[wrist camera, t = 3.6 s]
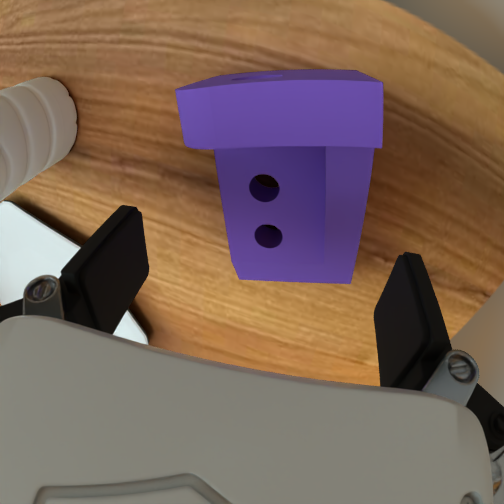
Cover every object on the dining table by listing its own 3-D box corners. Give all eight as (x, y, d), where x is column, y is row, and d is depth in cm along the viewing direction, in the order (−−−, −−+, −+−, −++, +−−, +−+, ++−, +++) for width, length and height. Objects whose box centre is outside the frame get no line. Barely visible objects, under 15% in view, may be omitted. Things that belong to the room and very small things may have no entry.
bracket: (218, 75, 14) (158, 95, 9) (355, 70, 13) (383, 82, 8) (244, 264, 21) (216, 345, 16) (349, 268, 20) (353, 354, 14)
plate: (-2, 303, 35) (-7, 310, 34) (-25, 164, 21) (-35, 171, 20) (131, 389, 38) (127, 397, 37) (174, 284, 24) (167, 297, 23)
